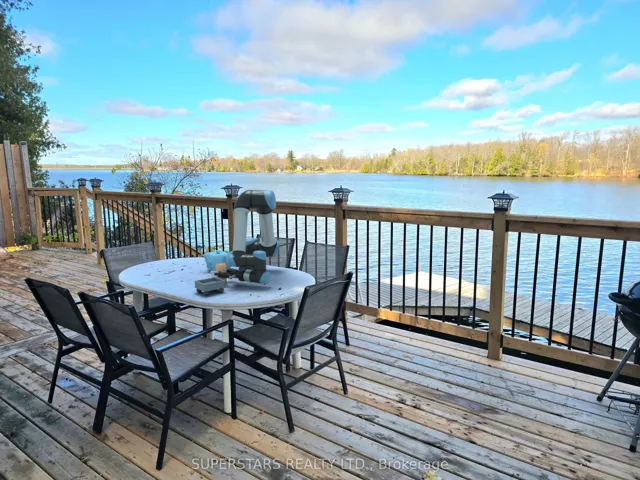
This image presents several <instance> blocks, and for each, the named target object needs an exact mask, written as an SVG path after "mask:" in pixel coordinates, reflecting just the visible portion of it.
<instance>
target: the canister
mask: <svg viewBox="0 0 640 480" xmlns="http://www.w3.org/2000/svg"><path fill="white" fill-rule="evenodd" d="M216 271H217V272H219V271H220V272H223V273H227V270H226V263H217V264H216ZM215 277H217V278H218V276H215ZM219 279H222V280H225V284H227V283H228V278H219Z"/></svg>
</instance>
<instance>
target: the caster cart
mask: <svg viewBox="0 0 640 480" xmlns="http://www.w3.org/2000/svg"><path fill="white" fill-rule="evenodd" d="M194 288H195V289H196V290H195V291H196V293H198V294H201V293H202V295H203V296H204V297H208V296H209V294H210V292H211V291H215V290H217V291H218V292H219V293H221V292H222V293H224V291H225V288H226V283H225V280H222V279H219V278H217V277H216V276H212V277H207V278H202V279H198V280H194Z"/></svg>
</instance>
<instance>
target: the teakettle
mask: <svg viewBox="0 0 640 480" xmlns="http://www.w3.org/2000/svg"><path fill="white" fill-rule="evenodd" d="M230 254H233V250H232V251H230V252H229V253H228V252H226V251H223V250H220V249H218V250H215V251H210V252H206V253H205V254H201V257H203V258H204V261H205V263H206V269H209V272H211V271H216V264H217V263H226V269H232V267H230V266H229V264H228V257H229V255H230Z"/></svg>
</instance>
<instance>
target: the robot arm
mask: <svg viewBox="0 0 640 480" xmlns="http://www.w3.org/2000/svg"><path fill="white" fill-rule="evenodd" d="M276 200H277V199H276V195H275V192H274V191H273V190H272V189H271V190H270V189H247V190H244V191H242V192H241V193H240V194H239V195H238V197H237V198H236V200H235V202H234V206H233V212H234V213H235V214H234V228H233V241H232V242H233V243H232V251H233V253H232V254H230V255H229V257H228V264H229V266H230V267H231V269H226V270H227V273H223V272H220V271H219V272H217V271H210V276H212V277H216V276H218V278H227V280H228V279H229V280H233V279H237V280H238V281H240V282H247V283H249V284H251V283H253V284H259V285H261V284H262V285H268V284H269V283H270V282H271V278H272V275H271V272H269V271H268V270H267V258H277V256H278V255H279V248H280V247H279V246H280V241H279V239H277V237H275V234H274V233H275V232H274V222H273V212H274V210H276V207H277V201H276ZM250 210H255V212H256V213H257V214H258V221H259V229H260V230H259V231H260V236H261V237H260V239H258V238H257V237H250V238H249V237H247V235H248V234H247V233H248V218H249V217H248V216H249V213H250V212H251V211H250ZM235 268H238V269H235Z"/></svg>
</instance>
